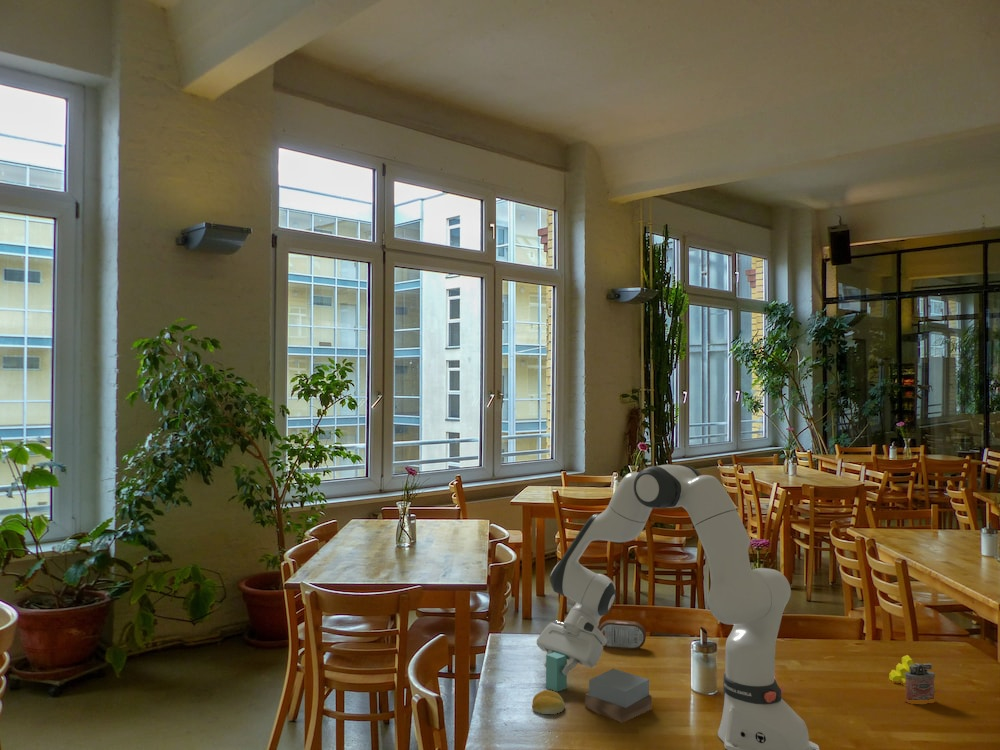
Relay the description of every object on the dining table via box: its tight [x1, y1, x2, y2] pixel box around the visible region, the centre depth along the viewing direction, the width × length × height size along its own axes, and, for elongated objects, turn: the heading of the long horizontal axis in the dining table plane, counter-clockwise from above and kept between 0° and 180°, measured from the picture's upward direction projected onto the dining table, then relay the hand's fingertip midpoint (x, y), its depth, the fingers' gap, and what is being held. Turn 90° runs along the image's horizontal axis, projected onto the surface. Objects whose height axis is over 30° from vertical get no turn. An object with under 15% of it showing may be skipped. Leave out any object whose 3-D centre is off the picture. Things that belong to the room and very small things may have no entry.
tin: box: [598, 619, 647, 650], centre depth 246 cm, size 15×3×8 cm, turn 80°
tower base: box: [584, 692, 653, 724], centre depth 199 cm, size 12×12×4 cm
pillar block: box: [545, 652, 568, 693], centre depth 212 cm, size 4×4×9 cm
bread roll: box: [531, 689, 566, 715], centre depth 199 cm, size 8×9×4 cm
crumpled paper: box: [888, 654, 916, 683], centre depth 220 cm, size 6×8×8 cm
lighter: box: [905, 662, 936, 700], centre depth 205 cm, size 8×3×10 cm, turn 99°
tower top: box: [588, 668, 650, 708], centre depth 199 cm, size 11×11×4 cm
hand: (554, 670), depth 212 cm, fingers open, 4 cm apart
